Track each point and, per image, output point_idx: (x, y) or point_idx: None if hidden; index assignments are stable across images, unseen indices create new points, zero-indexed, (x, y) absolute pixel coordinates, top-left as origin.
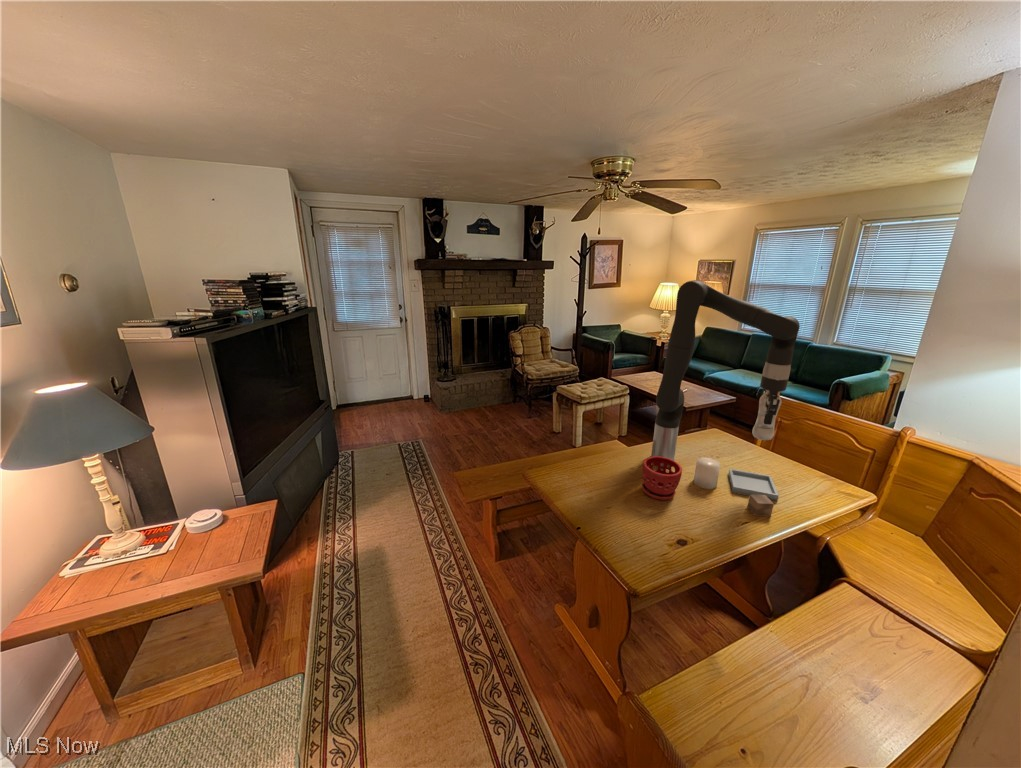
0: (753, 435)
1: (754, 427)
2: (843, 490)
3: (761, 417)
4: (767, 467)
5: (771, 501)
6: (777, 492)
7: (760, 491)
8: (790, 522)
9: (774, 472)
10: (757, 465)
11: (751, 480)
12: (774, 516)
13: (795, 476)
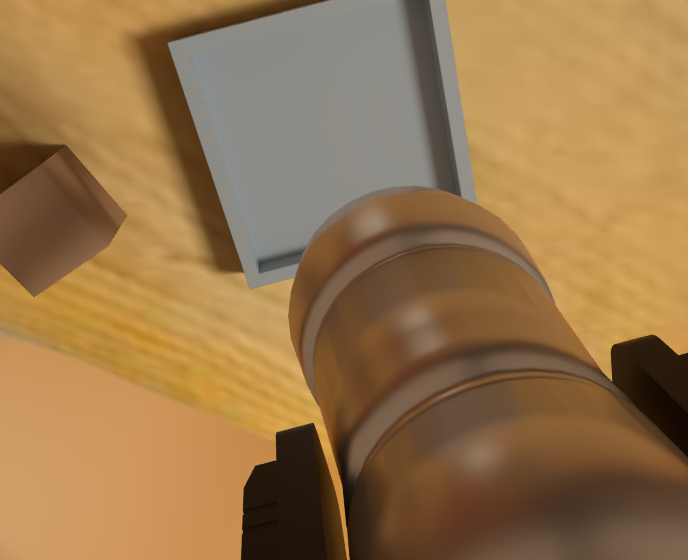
0: (349, 203)
1: (379, 236)
2: None
3: (363, 427)
4: (653, 186)
5: (52, 284)
6: (282, 280)
7: (227, 200)
8: (76, 340)
9: (601, 226)
10: (655, 131)
11: (388, 129)
12: (74, 276)
13: (603, 320)
